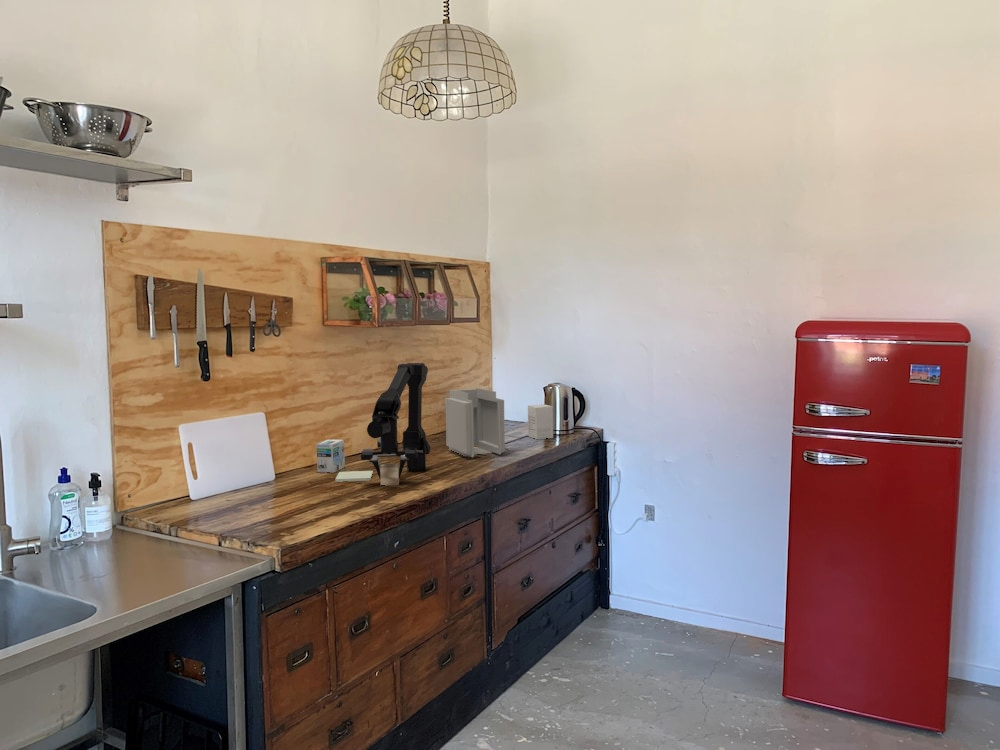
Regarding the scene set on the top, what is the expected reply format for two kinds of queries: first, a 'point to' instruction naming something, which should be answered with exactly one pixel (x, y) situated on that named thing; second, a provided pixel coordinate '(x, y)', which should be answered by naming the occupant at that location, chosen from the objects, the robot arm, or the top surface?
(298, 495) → the top surface
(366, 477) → the sage board
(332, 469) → the light bulb box
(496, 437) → the gray open cabinet
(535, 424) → the supplement box
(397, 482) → the birch cube
